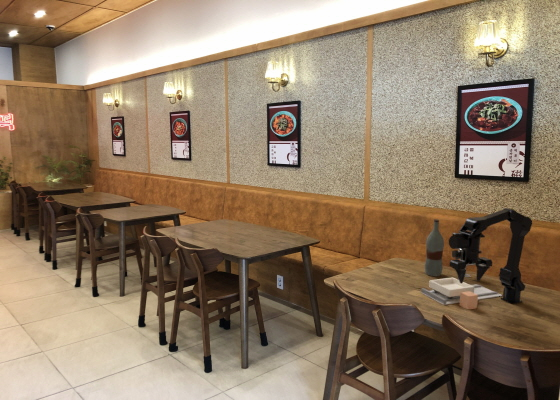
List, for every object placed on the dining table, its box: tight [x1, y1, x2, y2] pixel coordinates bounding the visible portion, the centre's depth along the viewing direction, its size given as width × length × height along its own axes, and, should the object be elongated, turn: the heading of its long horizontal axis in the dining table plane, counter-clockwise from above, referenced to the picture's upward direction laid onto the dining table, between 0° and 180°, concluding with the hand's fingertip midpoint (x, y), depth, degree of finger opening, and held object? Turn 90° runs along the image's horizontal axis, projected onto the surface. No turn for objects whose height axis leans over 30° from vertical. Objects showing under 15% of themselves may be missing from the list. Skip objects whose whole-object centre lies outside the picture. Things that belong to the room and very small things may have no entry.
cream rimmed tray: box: [428, 277, 474, 299], centre depth 206 cm, size 14×14×5 cm
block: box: [459, 291, 479, 310], centre depth 194 cm, size 5×5×6 cm
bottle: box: [424, 218, 445, 277], centre depth 237 cm, size 9×9×30 cm
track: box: [420, 284, 503, 306], centre depth 209 cm, size 16×34×2 cm, turn 110°
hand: (469, 282), depth 193 cm, fingers open, 9 cm apart
